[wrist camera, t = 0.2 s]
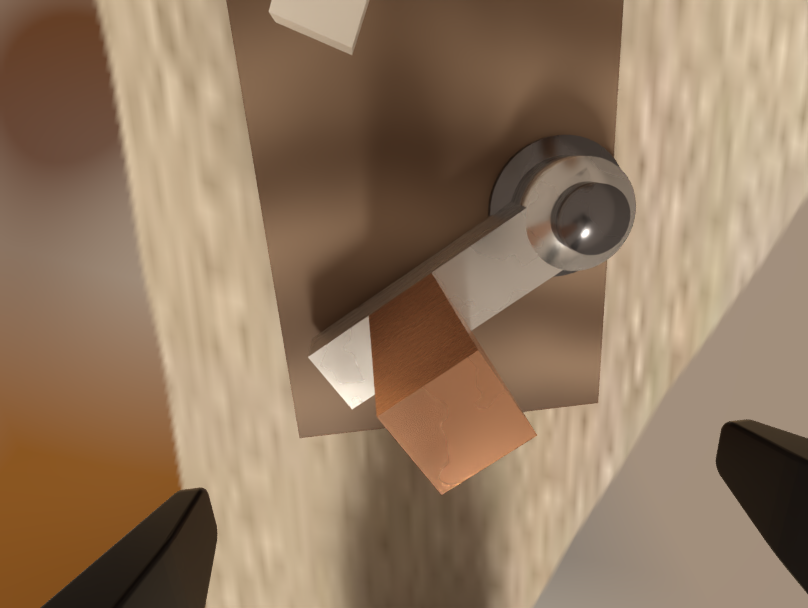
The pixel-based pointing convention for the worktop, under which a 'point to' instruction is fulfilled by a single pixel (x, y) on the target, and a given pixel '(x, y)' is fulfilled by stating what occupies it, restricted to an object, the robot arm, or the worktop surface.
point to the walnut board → (421, 170)
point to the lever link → (459, 329)
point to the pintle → (570, 197)
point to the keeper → (323, 19)
